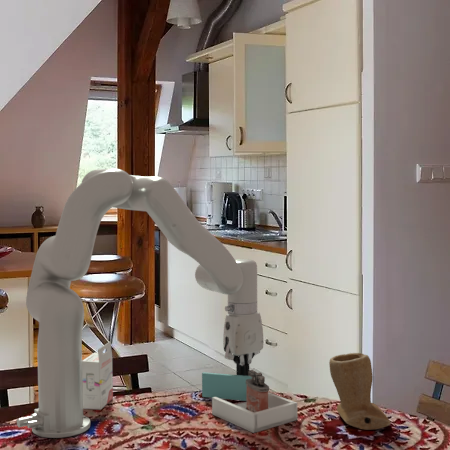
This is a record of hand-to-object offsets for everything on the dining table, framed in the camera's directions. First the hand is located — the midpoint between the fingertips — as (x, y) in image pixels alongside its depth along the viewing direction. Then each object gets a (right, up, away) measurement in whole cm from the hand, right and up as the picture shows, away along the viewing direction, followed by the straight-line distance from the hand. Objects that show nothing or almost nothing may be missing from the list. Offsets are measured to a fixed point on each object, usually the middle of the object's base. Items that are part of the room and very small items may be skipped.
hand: (242, 378), depth 177 cm
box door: (-4, -4, -5) cm, 7 cm away
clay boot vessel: (+25, -5, -20) cm, 33 cm away
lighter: (+3, -4, -19) cm, 19 cm away
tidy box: (+2, -5, -17) cm, 18 cm away
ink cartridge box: (-36, -5, -7) cm, 37 cm away
